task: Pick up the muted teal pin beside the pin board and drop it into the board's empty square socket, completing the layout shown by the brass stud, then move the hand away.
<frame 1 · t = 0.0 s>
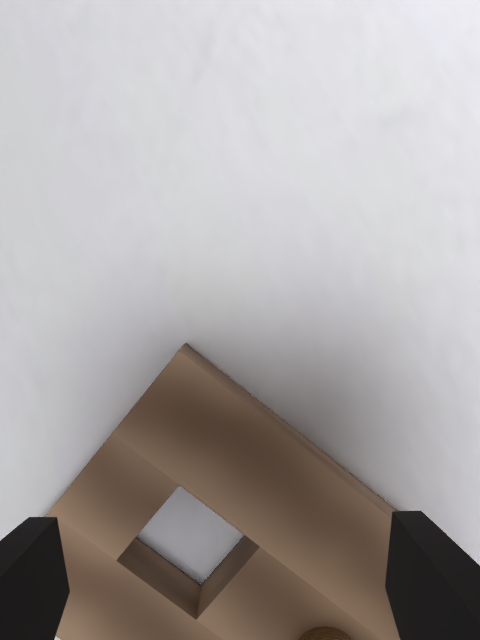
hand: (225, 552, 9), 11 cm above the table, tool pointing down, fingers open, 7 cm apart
pin board: (240, 561, 20), on the table
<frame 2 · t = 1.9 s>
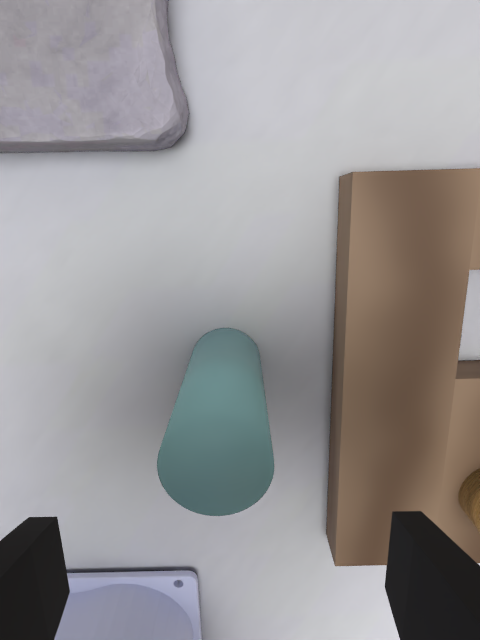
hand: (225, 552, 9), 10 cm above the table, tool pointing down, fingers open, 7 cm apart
stone block: (32, 22, 15), on the table
teal pin: (225, 360, 19), on the table
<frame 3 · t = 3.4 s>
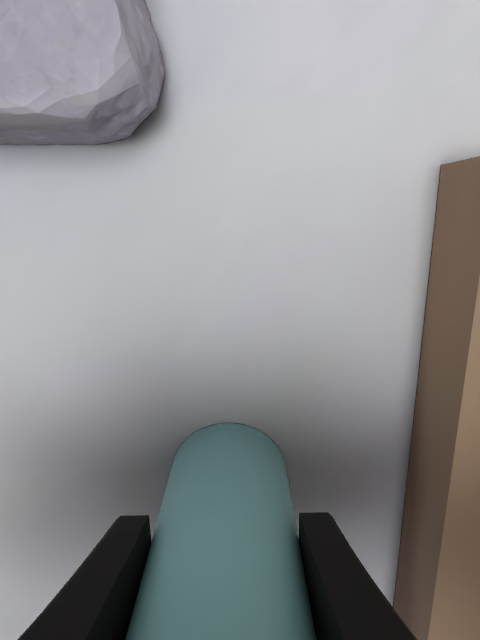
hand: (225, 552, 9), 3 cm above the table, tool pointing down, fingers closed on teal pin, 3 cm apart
teal pin: (229, 474, 11), on the table, touching gripper
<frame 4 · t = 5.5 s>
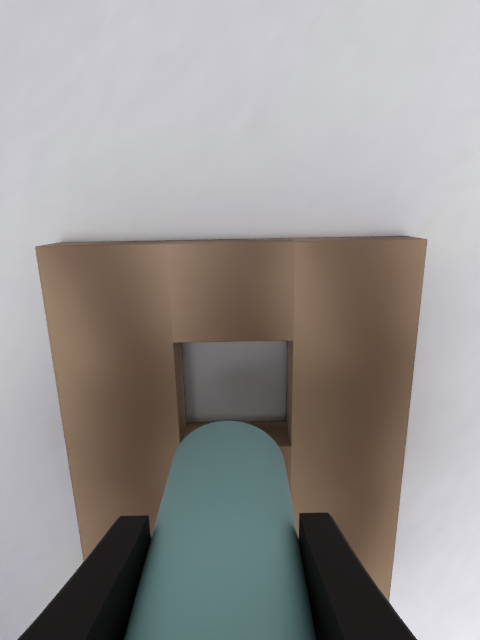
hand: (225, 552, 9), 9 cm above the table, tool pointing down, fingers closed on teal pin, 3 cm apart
pin board: (236, 435, 18), on the table
teal pin: (228, 471, 11), point 7 cm above the table, touching gripper
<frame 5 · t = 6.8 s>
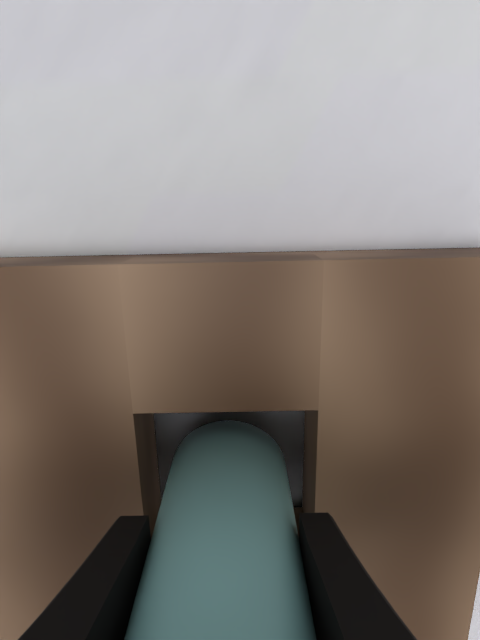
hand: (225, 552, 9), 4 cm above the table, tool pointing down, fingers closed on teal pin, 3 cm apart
pin board: (232, 526, 13), on the table
teal pin: (228, 471, 11), point 1 cm above the table, touching gripper
when the fingers open (4 cm above the table, at t = 7.6 s): teal pin drops 1 cm, resting in pin board.
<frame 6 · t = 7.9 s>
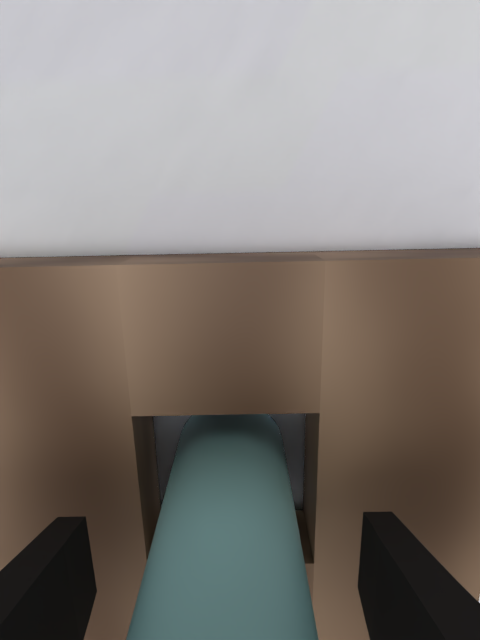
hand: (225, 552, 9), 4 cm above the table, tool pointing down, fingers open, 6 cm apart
pin board: (232, 529, 13), on the table
teal pin: (231, 447, 12), resting in pin board
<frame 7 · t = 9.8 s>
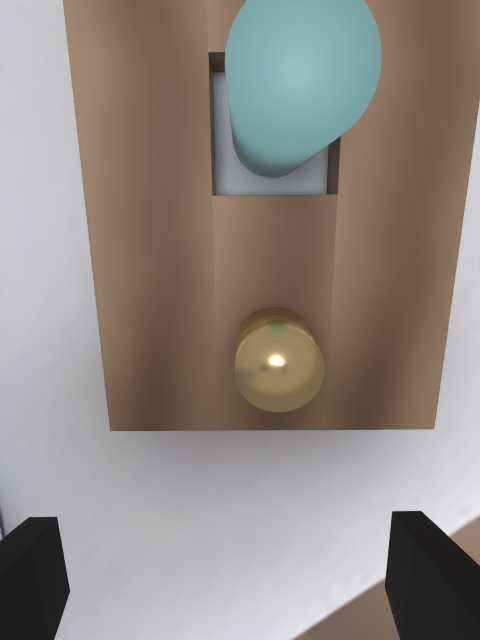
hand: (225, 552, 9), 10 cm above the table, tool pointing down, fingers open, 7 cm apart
pin board: (270, 214, 17), on the table
teal pin: (272, 135, 16), resting in pin board
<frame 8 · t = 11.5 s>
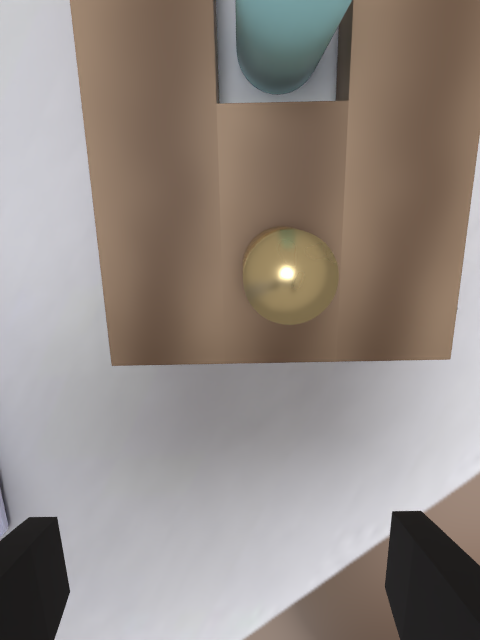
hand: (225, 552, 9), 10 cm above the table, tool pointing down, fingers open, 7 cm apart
pin board: (277, 134, 16), on the table
teal pin: (278, 47, 15), resting in pin board
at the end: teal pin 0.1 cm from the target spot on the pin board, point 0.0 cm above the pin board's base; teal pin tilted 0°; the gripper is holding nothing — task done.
